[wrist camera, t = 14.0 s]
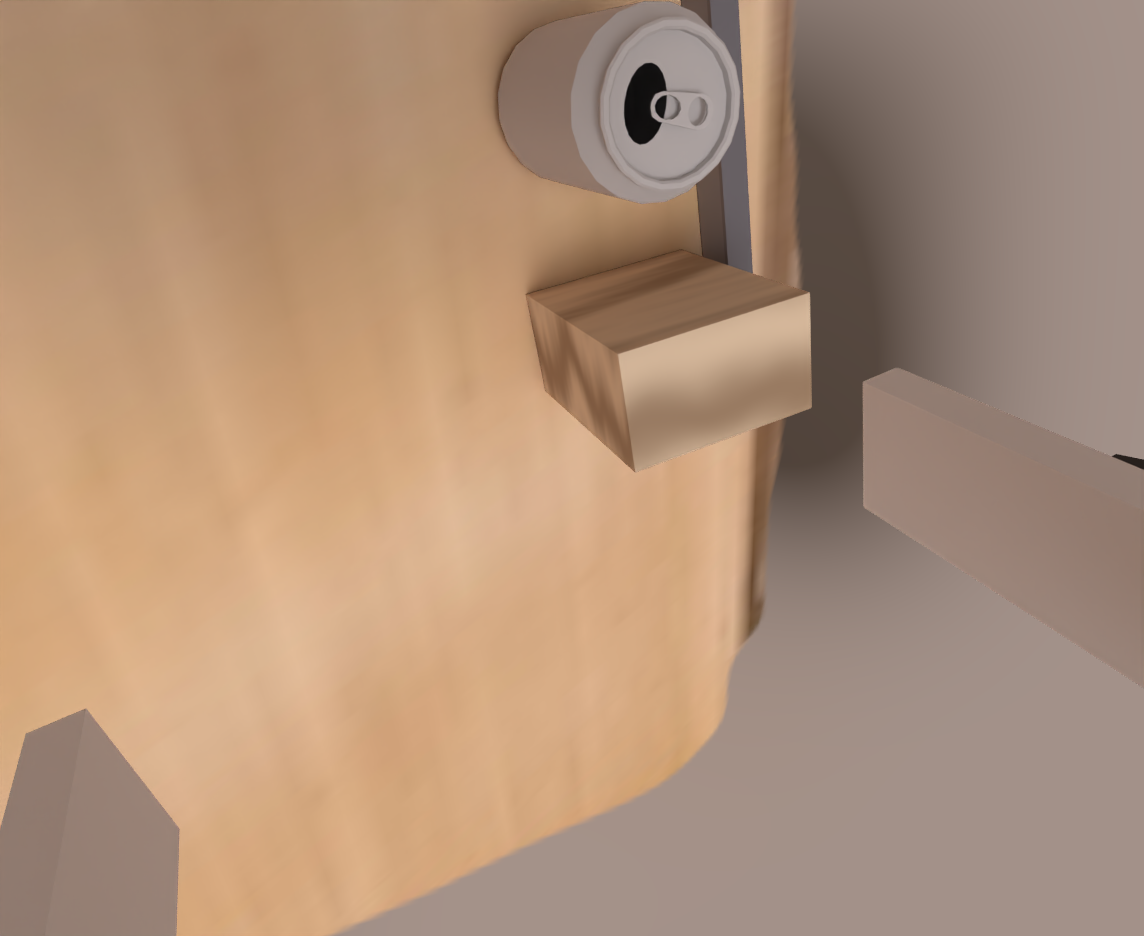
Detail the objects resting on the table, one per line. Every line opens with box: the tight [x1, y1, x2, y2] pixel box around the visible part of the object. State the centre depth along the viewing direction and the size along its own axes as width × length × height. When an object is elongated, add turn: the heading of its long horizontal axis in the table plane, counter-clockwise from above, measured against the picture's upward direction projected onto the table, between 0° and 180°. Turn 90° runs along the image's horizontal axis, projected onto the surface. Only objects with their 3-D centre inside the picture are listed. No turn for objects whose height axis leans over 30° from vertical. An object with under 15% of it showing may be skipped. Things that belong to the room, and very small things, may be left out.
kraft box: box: [526, 250, 812, 473], centre depth 41 cm, size 6×10×12 cm, turn 100°
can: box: [498, 1, 740, 204], centre depth 35 cm, size 8×8×12 cm
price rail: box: [681, 0, 753, 273], centre depth 42 cm, size 27×2×3 cm, turn 10°
